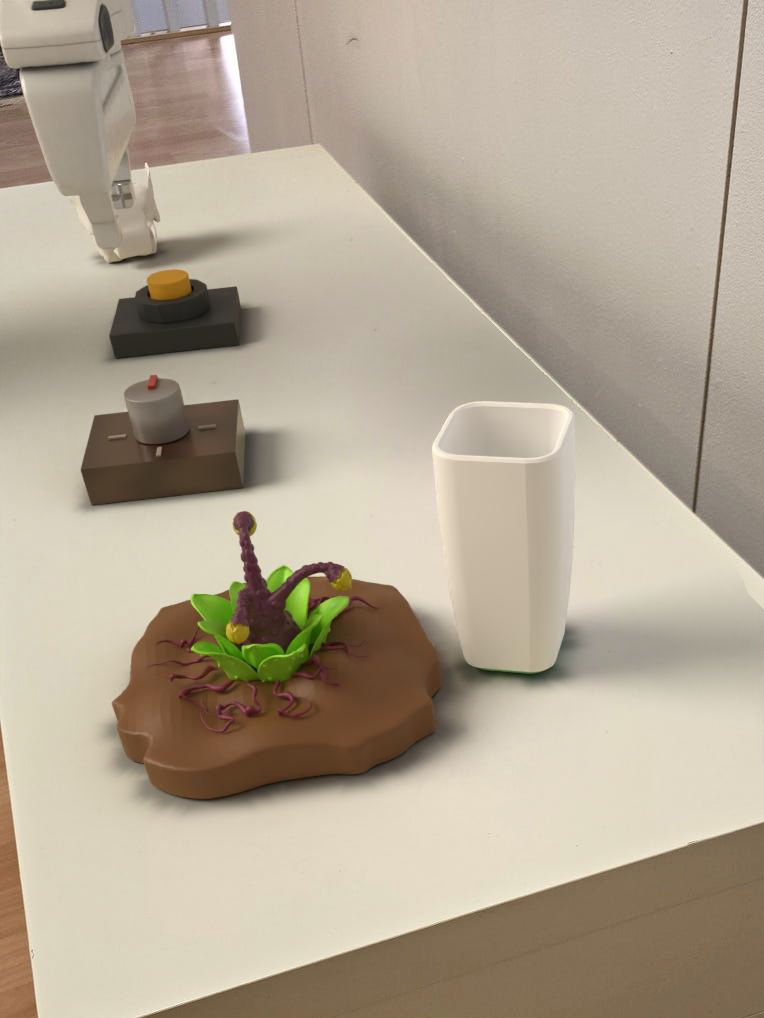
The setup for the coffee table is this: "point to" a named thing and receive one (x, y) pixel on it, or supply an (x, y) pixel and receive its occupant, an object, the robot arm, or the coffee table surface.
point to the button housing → (176, 321)
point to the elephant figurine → (130, 224)
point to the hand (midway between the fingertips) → (118, 225)
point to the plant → (277, 681)
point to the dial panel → (165, 456)
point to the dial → (156, 410)
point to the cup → (507, 529)
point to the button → (169, 284)
